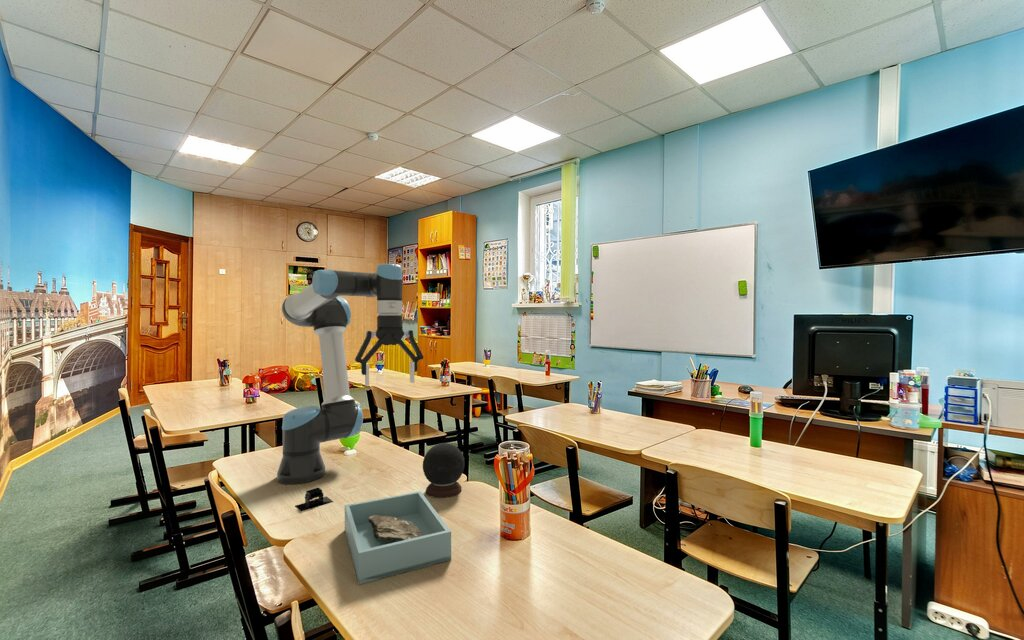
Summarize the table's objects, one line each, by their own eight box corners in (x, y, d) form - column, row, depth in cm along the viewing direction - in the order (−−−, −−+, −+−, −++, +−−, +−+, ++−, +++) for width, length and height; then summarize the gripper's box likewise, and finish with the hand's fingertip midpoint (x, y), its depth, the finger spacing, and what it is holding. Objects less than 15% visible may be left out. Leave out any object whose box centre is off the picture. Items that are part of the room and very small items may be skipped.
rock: (438, 534, 109) (438, 520, 109) (415, 556, 99) (415, 540, 99) (377, 522, 116) (377, 509, 116) (349, 541, 106) (349, 527, 106)
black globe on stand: (414, 495, 136) (414, 447, 136) (437, 480, 148) (436, 436, 148) (451, 502, 131) (451, 452, 131) (471, 486, 143) (471, 440, 143)
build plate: (296, 516, 123) (296, 500, 123) (287, 508, 128) (287, 492, 128) (340, 502, 132) (339, 487, 132) (330, 495, 137) (329, 481, 137)
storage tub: (344, 530, 114) (344, 505, 114) (420, 514, 123) (420, 491, 123) (358, 584, 90) (358, 553, 90) (451, 559, 100) (451, 531, 100)
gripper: (348, 314, 125) (348, 388, 125) (432, 314, 137) (433, 382, 137) (345, 314, 132) (345, 385, 132) (426, 314, 143) (426, 379, 143)
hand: (390, 384), depth 134 cm, fingers open, 13 cm apart
